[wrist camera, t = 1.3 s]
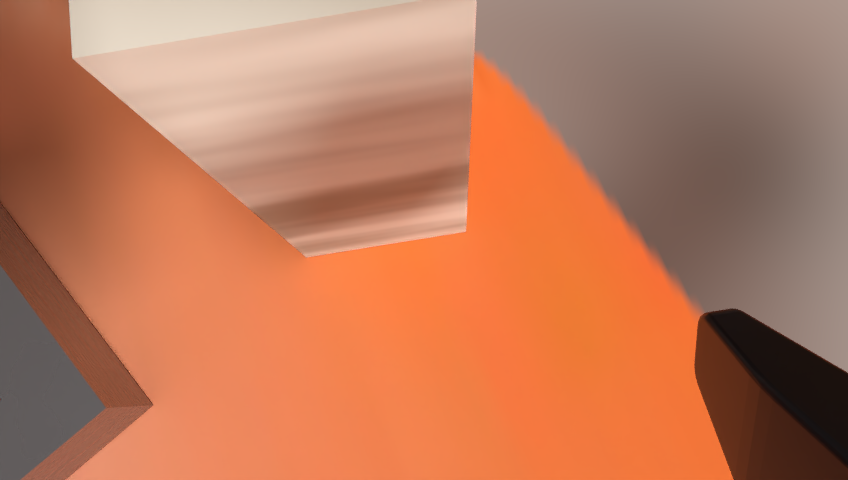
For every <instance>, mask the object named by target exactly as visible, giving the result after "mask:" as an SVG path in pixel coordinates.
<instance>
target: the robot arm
mask: <svg viewBox="0 0 848 480" xmlns="http://www.w3.org/2000/svg"><path fill="white" fill-rule="evenodd" d="M695 375H696V379H697V383H698V386H699V389H700V391H701V394H702V397H703V399H704V402H705V405H706V407H707V410H708V413H709V415H710V418H711V421H712V423H713V426H714V429H715V431H716V434H717V437H718V439H719V442H720V445H721V447H722V450H723V453H724V455H725V458H726V460H727V463H728V466H729V468H730V471H731V474H732V476H733V479H734V480H848V373H847V372H846V371H844V370H842V369H841V368H839V367H837V366H835V365H833V364H832V363H830V362H829V361H827V360H825V359H823V358H822V357H820V356H818V355H817V354H815V353H813V352H811V351H810V350H808V349H806V348H805V347H803V346H801V345H799V344H798V343H796V342H794V341H793V340H791V339H789V338H788V337H786V336H784V335H782V334H781V333H779V332H777V331H775V330H774V329H772V328H770V327H769V326H767V325H765V324H764V323H762V322H760V321H758V320H757V319H755V318H753V317H752V316H750V315H748V314H746V313H745V312H743V311H741V310H738V309H726V310H719V311H712V312H707V313H704V314H703V315H701V317H700V319H699V322H698V329H697V341H696V352H695Z"/></svg>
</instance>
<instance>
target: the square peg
mask: <svg viewBox="0 0 848 480" xmlns="http://www.w3.org/2000/svg"><path fill="white" fill-rule="evenodd" d="M476 3H477V0H69V13H70V29H71V46H72V59H74V60H75V61H76V62H77V63H78V64H79V65H81V66H82V67H83V68H84V69H85V70H86V71H88V72H89V73H90V74H91V75H92V76H94V77H95V78H96V79H97V80H98V81H99V82H101V83H102V84H103V85H104V86H105V87H106V88H108V89H109V90H110V91H111V92H112V93H114V94H115V95H116V96H117V97H118V98H119V99H121V100H122V101H123V102H124V103H125V104H126V105H128V106H129V107H130V108H131V109H132V110H134V111H135V112H136V113H137V114H138V115H139V116H141V117H142V118H143V119H144V120H145V121H146V122H148V123H149V124H150V125H151V126H152V127H153V128H155V129H156V130H157V131H158V132H159V133H161V134H162V135H163V136H164V137H165V138H166V139H168V140H169V141H170V142H171V143H172V144H173V145H175V146H176V147H177V148H178V149H179V150H181V151H182V152H183V153H184V154H185V155H186V156H188V157H189V158H190V159H191V160H192V161H193V162H195V163H196V164H197V165H198V166H199V167H201V168H202V169H203V170H204V171H205V172H206V173H208V174H209V175H210V176H211V177H212V178H213V179H215V180H216V181H217V182H218V183H219V184H221V185H222V186H223V187H224V188H225V189H226V190H228V191H229V192H230V193H231V194H232V195H233V196H235V197H236V198H237V199H238V200H239V201H241V202H242V203H243V204H244V205H245V206H246V207H248V208H249V209H250V210H251V211H252V212H253V213H255V214H256V215H257V216H258V217H259V218H261V219H262V220H263V221H264V222H265V223H266V224H268V225H269V226H270V227H271V228H272V229H273V230H275V231H276V232H277V233H278V234H279V235H280V236H282V237H283V238H284V239H285V240H286V241H288V242H289V243H290V244H291V245H292V246H293V247H295V248H296V249H297V250H298V251H299V252H300V253H302V254H303V255H304V256H305V257H312V256H318V255H324V254H330V253H337V252H343V251H349V250H355V249H361V248H368V247H374V246H380V245H386V244H392V243H399V242H405V241H411V240H417V239H423V238H430V237H436V236H442V235H448V234H454V233H461V232H466V220H467V199H468V177H469V155H470V133H471V112H472V90H473V68H474V46H475V24H476V23H475V22H476Z"/></svg>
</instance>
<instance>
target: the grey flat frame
mask: <svg viewBox="0 0 848 480" xmlns="http://www.w3.org/2000/svg"><path fill="white" fill-rule="evenodd" d="M0 399H1V400H0V480H65V479H66V478H68V477H69V476H70V475H71V474H72V473H74V472H75V471H76V470H77V469H78V468H79V467H81V466H82V465H83V464H84V463H85V462H87V461H88V460H89V459H90V458H91V457H93V456H94V455H95V454H96V453H97V452H98V451H100V450H101V449H102V448H103V447H104V446H106V445H107V444H108V443H109V442H110V441H111V440H113V439H114V438H115V437H116V436H117V435H119V434H120V433H121V432H122V431H123V430H124V429H126V428H127V427H128V426H129V425H130V424H132V423H133V422H134V421H135V420H136V419H137V418H139V417H140V416H141V415H142V414H143V413H145V412H146V411H147V410H148V409H149V408H150V407H152V406H153V404H152V403H151V402H150V400H149V399H148V398H147V396H146V395H145V394H144V392H143V391H142V390H141V388H140V387H139V386H138V384H137V383H136V382H135V380H134V379H133V378H132V376H131V375H130V374H129V372H128V371H127V370H126V369H125V367H124V366H123V365H122V363H121V362H120V361H119V359H118V358H117V357H116V355H115V354H114V353H113V351H112V350H111V349H110V347H109V346H108V345H107V343H106V342H105V341H104V339H103V338H102V337H101V335H100V334H99V333H98V331H97V330H96V329H95V327H94V326H93V325H92V324H91V322H90V321H89V320H88V318H87V317H86V316H85V314H84V313H83V312H82V310H81V309H80V308H79V306H78V305H77V304H76V302H75V301H74V300H73V298H72V297H71V296H70V294H69V293H68V292H67V290H66V289H65V288H64V286H63V285H62V284H61V282H60V281H59V280H58V278H57V277H56V276H55V275H54V273H53V272H52V271H51V269H50V268H49V267H48V265H47V264H46V263H45V261H44V260H43V259H42V257H41V256H40V255H39V253H38V252H37V251H36V249H35V248H34V247H33V245H32V244H31V243H30V241H29V240H28V239H27V237H26V236H25V235H24V233H23V232H22V231H21V229H20V228H19V227H18V226H17V224H16V223H15V222H14V220H13V219H12V218H11V216H10V215H9V214H8V212H7V211H6V210H5V208H4V207H3V206H2V204H1V203H0Z"/></svg>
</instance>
